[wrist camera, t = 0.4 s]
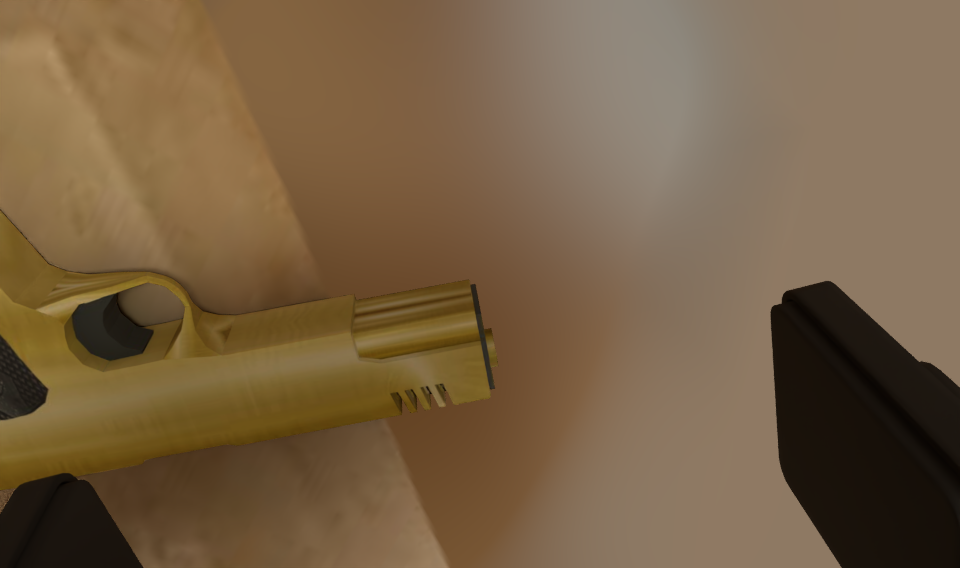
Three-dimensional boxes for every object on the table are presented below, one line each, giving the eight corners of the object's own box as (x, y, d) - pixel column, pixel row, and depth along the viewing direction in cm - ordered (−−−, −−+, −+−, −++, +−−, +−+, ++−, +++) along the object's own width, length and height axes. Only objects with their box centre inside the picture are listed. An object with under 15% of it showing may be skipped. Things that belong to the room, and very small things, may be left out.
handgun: (-330, 158, 19) (-86, 517, 25) (434, 16, 19) (505, 405, 25) (-255, 129, 21) (-46, 464, 27) (431, 2, 21) (497, 362, 27)
